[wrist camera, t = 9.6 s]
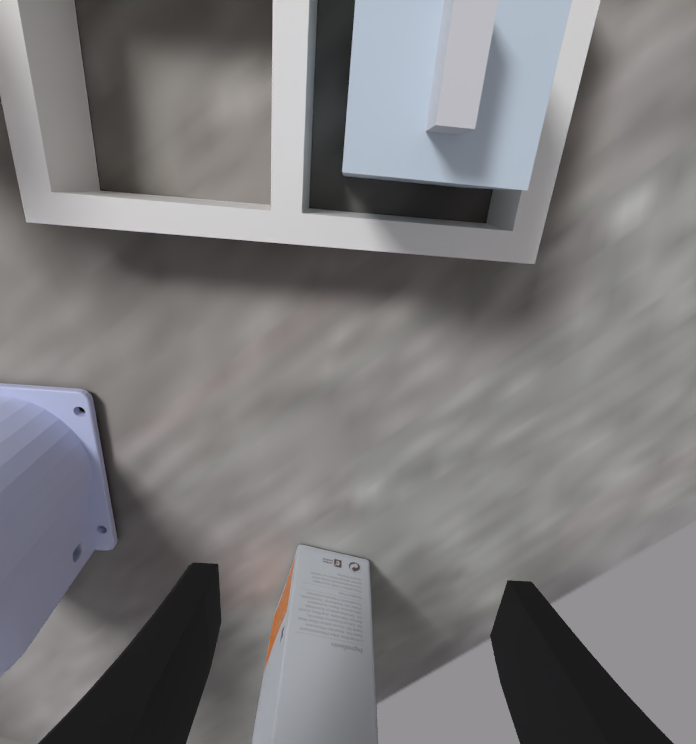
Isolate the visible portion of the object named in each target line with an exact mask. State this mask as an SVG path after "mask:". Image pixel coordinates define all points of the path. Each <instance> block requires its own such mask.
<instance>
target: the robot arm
mask: <svg viewBox="0 0 696 744" xmlns="http://www.w3.org/2000/svg"><path fill="white" fill-rule="evenodd" d="M79 407H82V408H83V409H84V410H85V412H82V411H81V410H80V409H79ZM103 526H104V527H105V528H104V527H103ZM116 543H117V534H116V529H115V523H114V517H113V511H112V506H111V500H110V494H109V488H108V483H107V477H106V471H105V465H104V459H103V454H102V448H101V442H100V436H99V431H98V425H97V419H96V413H95V408H94V402H93V398H92V395H91V394H90V393H89V392H87V391H86V390H83V389H77V388H62V387H48V386H34V385H19V384H5V383H0V676H2V675H3V674H4V673H5V672H6V671H7V670H8V669H9V668H10V667H11V666H12V665H13V664H14V663H15V662H16V661H17V660H18V659H19V658H20V657H21V656H22V654H23V653H24V652H25V651H26V649H27V648H28V647H29V645H30V644H31V642H32V641H33V640H34V638H35V637H36V635H37V634H38V632H39V631H40V629H41V628H42V626H43V625H44V623H45V622H46V621H47V619H48V618H49V616H50V615H51V613H52V612H53V610H54V609H55V607H56V606H57V604H58V603H59V602H60V600H61V599H62V597H63V596H64V594H65V593H66V591H67V590H68V588H69V587H70V585H71V584H72V583H73V581H74V580H75V578H76V577H77V575H78V574H79V572H80V571H81V569H82V568H83V566H84V565H85V564H86V562H87V561H88V559H89V558H90V556H91V555H92V553H93V552H94V550H105V551H107V550H111V549H113V548H114V547H115V545H116ZM220 625H221V609H220V590H219V571H218V564H208V563H192V564H191V565H189V566H188V568H187V569H186V571H185V572H184V574H183V575H182V576H181V578H180V579H179V581H178V582H177V583H176V585H175V586H174V588H173V589H172V590H171V592H170V593H169V594H168V596H167V597H166V598H165V600H164V601H163V602H162V604H161V605H160V606H159V608H158V609H157V610H156V612H155V613H154V614H153V615H152V617H151V618H150V619H149V620H148V622H147V623H146V624H145V625H144V627H143V628H142V629H141V630H140V632H139V633H138V634H137V635H136V637H135V638H134V639H133V640H132V642H131V643H130V644H129V645H128V646H127V648H126V649H125V650H124V651H123V652H122V654H121V655H120V656H119V657H118V658H117V659H116V660H115V662H114V663H113V664H112V665H111V666H110V667H109V668H108V670H107V671H106V672H105V673H104V674H103V675H102V676H101V678H100V679H99V680H98V681H97V682H96V683H95V684H94V686H93V687H92V688H91V689H90V690H89V691H88V692H87V693H86V694H85V695H84V697H83V698H82V699H81V700H80V701H79V702H78V703H77V704H76V705H75V706H74V707H73V708H72V709H71V710H70V711H69V713H68V714H67V715H66V716H65V717H64V718H63V719H62V720H61V721H60V722H59V723H58V724H57V725H56V726H55V727H54V728H53V729H52V730H51V731H50V732H49V733H48V734H47V735H46V736H45V737H44V738H43V739H42V740H41V741H40V742H39V743H38V744H186V741H187V738H188V735H189V732H190V729H191V726H192V723H193V720H194V717H195V714H196V711H197V708H198V705H199V702H200V699H201V696H202V693H203V690H204V687H205V684H206V681H207V678H208V675H209V671H210V668H211V664H212V660H213V656H214V651H215V647H216V643H217V638H218V634H219V629H220ZM490 636H491V641H492V646H493V651H494V656H495V661H496V665H497V670H498V673H499V678H500V682H501V686H502V689H503V692H504V695H505V698H506V702H507V705H508V708H509V711H510V714H511V717H512V720H513V723H514V726H515V729H516V732H517V735H518V738H519V741H520V744H673V743H672V742H671V741H670V740H669V739H668V737H666V736H665V734H664V733H663V732H662V731H661V730H660V729H658V727H657V726H656V725H655V724H654V723H653V722H652V721H651V720H650V719H649V718H648V717H647V716H646V715H645V713H644V712H642V710H641V709H640V708H639V707H638V706H637V705H636V704H635V703H634V702H633V701H632V700H631V698H630V697H629V696H628V695H627V694H626V693H625V692H624V691H623V690H622V689H621V687H619V685H618V684H617V683H616V682H615V681H614V680H613V678H612V677H611V676H610V675H609V674H608V673H607V672H606V670H604V668H603V667H602V666H601V665H600V663H599V662H598V661H597V660H596V659H595V658H594V657H593V656H592V654H591V653H590V652H589V651H588V650H587V648H586V647H585V646H584V645H583V644H582V642H581V641H580V640H579V639H578V638H577V637H576V635H575V634H574V633H573V632H572V630H571V629H570V628H569V627H568V626H567V624H566V623H565V622H564V621H563V619H562V618H561V617H560V616H559V615H558V613H557V612H556V611H555V610H554V608H553V607H552V606H551V605H550V604H549V602H548V601H547V600H546V599H545V597H544V596H543V595H542V594H541V593H540V591H539V590H538V589H537V588H536V586H535V585H534V584H533V583H532V582H526V581H507V584H506V587H505V591H504V594H503V597H502V600H501V603H500V606H499V610H498V613H497V616H496V619H495V622H494V626H493V629H492V632H491V635H490Z"/></svg>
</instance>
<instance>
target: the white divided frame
mask: <svg viewBox="0 0 696 744" xmlns="http://www.w3.org/2000/svg"><path fill="white" fill-rule="evenodd" d="M317 4H318V0H273V32H272V146H271V205H265V204H254V203H242V202H230V201H219V200H207V199H195V198H183V197H172V196H160V195H148V194H137V193H125V192H113V191H102V190H100V185H99V178H98V171H97V163H96V156H95V149H94V141H93V134H92V127H91V120H90V112H89V105H88V98H87V90H86V83H85V76H84V68H83V61H82V54H81V46H80V39H79V32H78V24H77V17H76V10H75V2H74V0H0V97H1V102H2V107H3V112H4V116H5V121H6V126H7V131H8V136H9V141H10V146H11V151H12V155H13V160H14V165H15V170H16V175H17V180H18V185H19V190H20V194H21V199H22V204H23V209H24V214H25V219H26V222H29V223H41V224H53V225H65V226H77V227H89V228H102V229H114V230H126V231H138V232H150V233H162V234H174V235H186V236H199V237H211V238H223V239H235V240H247V241H259V242H271V243H283V244H296V245H308V246H320V247H332V248H344V249H356V250H368V251H380V252H393V253H405V254H417V255H429V256H441V257H453V258H465V259H477V260H490V261H502V262H514V263H526V264H535V261H536V257H537V253H538V249H539V245H540V241H541V237H542V233H543V229H544V225H545V221H546V217H547V213H548V209H549V205H550V201H551V197H552V193H553V189H554V185H555V181H556V177H557V173H558V169H559V165H560V160H561V156H562V152H563V148H564V144H565V140H566V136H567V132H568V128H569V124H570V120H571V116H572V112H573V108H574V104H575V100H576V96H577V92H578V88H579V84H580V80H581V76H582V72H583V68H584V64H585V60H586V56H587V52H588V48H589V44H590V40H591V36H592V32H593V28H594V24H595V20H596V16H597V12H598V8H599V4H600V0H572V3H571V8H570V12H569V16H568V20H567V25H566V29H565V33H564V37H563V42H562V46H561V50H560V54H559V59H558V63H557V67H556V71H555V76H554V80H553V84H552V88H551V93H550V97H549V101H548V105H547V110H546V114H545V118H544V122H543V127H542V131H541V135H540V139H539V144H538V148H537V152H536V156H535V161H534V165H533V169H532V173H531V178H530V182H529V186H528V190H527V191H525V190H503V189H493V191H492V196H491V201H490V206H489V211H488V216H487V221H486V223H476V222H464V221H453V220H441V219H429V218H417V217H406V216H394V215H382V214H371V213H359V212H347V211H336V210H324V209H312V208H309V196H310V172H311V148H312V124H313V100H314V76H315V52H316V28H317Z"/></svg>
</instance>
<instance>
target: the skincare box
mask: <svg viewBox="0 0 696 744" xmlns="http://www.w3.org/2000/svg"><path fill="white" fill-rule="evenodd" d="M376 707H377V706H376V690H375V669H374V648H373V625H372V603H371V584H370V564H369V561H368V560H366V559H363V558H358V557H354V556H350V555H346V554H341V553H337V552H332V551H328V550H324V549H320V548H315V547H311V546H307V545H299V546H298V547H297V550H296V554H295V557H294V560H293V563H292V566H291V569H290V572H289V575H288V578H287V581H286V584H285V587H284V589H283V592H282V595H281V597H280V600H279V602H278V605H277V608H276V610H275V613H274V618H273V624H272V630H271V635H270V640H269V646H268V652H267V658H266V663H265V669H264V675H263V681H262V686H261V692H260V698H259V704H258V709H257V715H256V721H255V727H254V732H253V738H252V744H378V730H377V708H376Z"/></svg>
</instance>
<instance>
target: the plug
mask: <svg viewBox="0 0 696 744" xmlns="http://www.w3.org/2000/svg"><path fill="white" fill-rule="evenodd" d="M571 3H572V0H355V11H354V24H353V37H352V50H351V63H350V76H349V89H348V102H347V115H346V128H345V141H344V154H343V167H342V173H343V176H347V177H358V178H368V179H378V180H388V181H398V182H408V183H418V184H429V185H439V186H449V187H460V188H482V189H503V190H525V191H527V190H528V186H529V182H530V178H531V173H532V169H533V165H534V161H535V156H536V152H537V148H538V144H539V139H540V135H541V131H542V127H543V122H544V118H545V114H546V110H547V105H548V101H549V97H550V93H551V88H552V84H553V80H554V76H555V71H556V67H557V63H558V59H559V54H560V50H561V46H562V42H563V37H564V33H565V29H566V25H567V20H568V16H569V12H570V8H571Z"/></svg>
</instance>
